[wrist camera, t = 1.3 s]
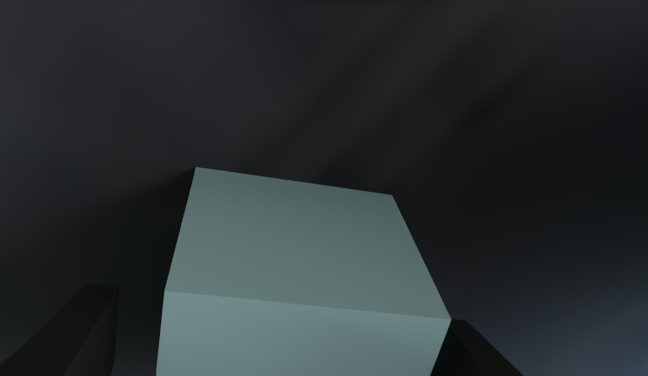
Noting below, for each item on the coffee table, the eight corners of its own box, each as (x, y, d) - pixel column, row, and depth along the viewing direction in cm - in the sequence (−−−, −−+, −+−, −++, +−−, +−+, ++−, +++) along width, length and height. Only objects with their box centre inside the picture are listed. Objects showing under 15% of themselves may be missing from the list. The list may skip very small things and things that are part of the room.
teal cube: (391, 193, 14) (451, 319, 10) (348, 341, 16) (381, 500, 12) (196, 165, 13) (164, 290, 9) (177, 325, 15) (143, 492, 11)
